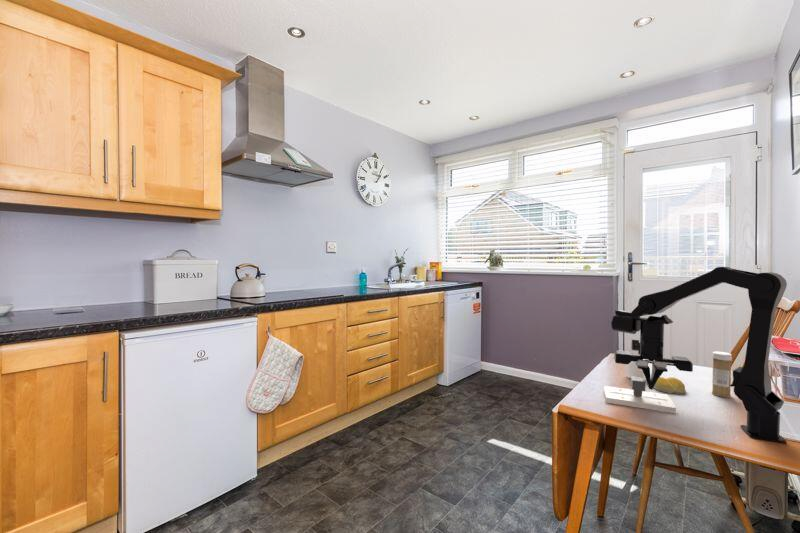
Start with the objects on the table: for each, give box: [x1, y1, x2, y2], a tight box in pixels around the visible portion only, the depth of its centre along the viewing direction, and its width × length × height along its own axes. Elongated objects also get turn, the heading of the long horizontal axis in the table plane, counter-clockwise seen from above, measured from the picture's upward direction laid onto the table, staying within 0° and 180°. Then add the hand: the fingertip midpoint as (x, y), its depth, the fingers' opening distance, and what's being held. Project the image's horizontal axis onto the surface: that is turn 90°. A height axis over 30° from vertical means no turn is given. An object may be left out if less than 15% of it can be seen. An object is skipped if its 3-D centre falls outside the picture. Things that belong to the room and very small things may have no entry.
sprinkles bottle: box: [711, 350, 733, 398], centre depth 115 cm, size 5×5×13 cm
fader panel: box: [603, 385, 677, 414], centre depth 111 cm, size 11×17×2 cm, turn 64°
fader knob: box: [630, 376, 646, 396], centre depth 110 cm, size 4×3×5 cm
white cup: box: [624, 359, 646, 380], centre depth 132 cm, size 7×7×7 cm
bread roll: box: [653, 376, 687, 395], centre depth 120 cm, size 8×9×4 cm
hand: (650, 389), depth 109 cm, fingers closed
